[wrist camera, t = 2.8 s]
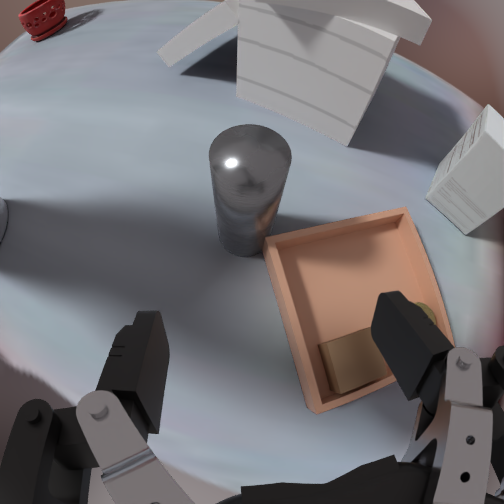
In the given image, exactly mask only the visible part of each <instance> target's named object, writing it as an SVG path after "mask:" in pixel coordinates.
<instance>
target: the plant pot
mask: <svg viewBox="0 0 504 504" xmlns="http://www.w3.org/2000/svg"><path fill="white" fill-rule="evenodd" d="M52 6H54V7H53V9H51V7H52ZM44 12H46V14H45V15H44V14H43V13H44ZM64 14H65V2H64V0H38V1H36V2H34V3H33V4H31V5H30V6H28V7H27V8H26V9H25V10H23V11H22V12H21V13H20V14H19V19H20V21H21V23H22V25H23V27H24V29H25V30H26V31H27V32H28V33H29V34H31V35H32V36H31V40H33V41H39V40H42V39H45V38H47V37H49V36H50V35H52V34H54V33H55V32H57V31H58V30H59V29H61V28H62V27H63V26H64V25H65V24H66V22H67V17H65V16H64ZM36 17H38V18H36Z"/></svg>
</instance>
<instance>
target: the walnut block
mask: <svg viewBox="0 0 504 504" xmlns="http://www.w3.org/2000/svg"><path fill="white" fill-rule="evenodd" d="M318 348H319V352H320V355H321V359H322V362H323V366H324V369H325V373H326V377H327V380H328V384H329V388H330V391H333V392H336V393H339V394H342V393H345V392H347V391H350V390H352V389H355V388H357V387H360V386H362V385H364V384H367V383H369V382H371V381H373V380H376V379H378V378H380V377H382V376H384V375H387V372H386V368H385V364H384V360H383V356H382V354H381V352H380V351H379V349H378V347H377V346H376V344H375V342H374V341H373V339H372V336H371V327H368V328H364V329H360V330H358V331H355V332H352V333H350V334H347V335H344V336H341V337H338V338H336V339H333V340H330V341H327V342H324V343H321V344H318Z"/></svg>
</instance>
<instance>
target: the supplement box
mask: <svg viewBox="0 0 504 504" xmlns="http://www.w3.org/2000/svg"><path fill="white" fill-rule="evenodd" d="M425 198H426V200H428V201H429V202H430V203H431V204H432V205H434V206H435V207H436V208H437V209H438V210H439V211H440V212H441V213H443V214H444V215H445V216H446V217H447V218H448V219H449V220H450V221H451V222H452V223H453V224H454V225H456V226H457V227H458V228H459V229H460V230H461V231H462V232H463V233H464V234H465V235H467V234H468V233H470V232H471V231H472V230H474V229H475V228H477V227H478V226H480V225H481V224H483V223H484V222H485V221H487V220H488V219H489V218H491V217H492V216H494V215H495V214H496V213H498V212H499V211H500V210H502V209H503V208H504V118H503V117H502V116H500V114H499V113H497V112H496V111H495V110H494V109H493V108H492V107H491V106H490V105H489V104H488V105H487V106H486V107H485V108H484V110H483V111H482V112H481V114H480V115H479V116H478V118H477V119H476V120H475V121H474V123H473V124H472V125H471V127H470V128H469V129H468V130H467V132H466V133H465V134H464V135H463V137H462V138H461V139H460V140H459V141H458V143H457V144H456V145H455V146H454V147H453V149H452V150H451V151H450V152H449V153H448V154H447V155H446V156H445V158H444V159H443V160H442V161H441V162H440V163H439V165H438V168H437V170H436V173H435V175H434V178H433V180H432V183H431V185H430V188H429V190H428V193H427V195H426V197H425Z"/></svg>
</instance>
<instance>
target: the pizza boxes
mask: <svg viewBox="0 0 504 504" xmlns="http://www.w3.org/2000/svg"><path fill="white" fill-rule="evenodd" d="M431 21H432V19H431V18H430V17H429V16H428V15H427V14H426V13H425V12H424V11H423V10H422V8H421V7H420V6H419V5H418V4H417V3H416V2H415V1H414V0H225V1H223V2H222V3H220V4H219V5H217V6H216V7H214V8H213V9H211V10H210V11H208V12H207V13H205V14H204V15H203V16H201V17H200V18H198V19H197V20H196V21H194V22H193V23H192V24H190V25H189V26H188V27H186V28H185V29H184V30H182V31H181V32H180V33H179V34H177V35H176V36H175V37H174V38H172V39H171V40H170V41H169V42H167V43H166V44H165V45H164V46H163V47H161V48H160V49H159V50H158V51H157V53H158V55H159V56H160V57H161V58H162V59H163V61H164V62H165V63H166V64H167V66H168V67H171V66H172V65H174V64H175V63H176V62H178V61H179V60H181V59H182V58H184V57H185V56H187V55H188V54H190V53H191V52H193V51H194V50H196V49H197V48H199V47H200V46H202V45H204V44H205V43H207V42H209V41H210V40H212V39H214V38H215V37H217V36H219V35H220V34H222V33H224V32H226V31H227V30H229V29H231V28H233V27H235V26H236V25H238V45H237V94H236V97H239V98H241V99H244V100H247V101H249V102H252V103H254V104H257V105H259V106H262V107H264V108H266V109H269V110H271V111H274V112H276V113H278V114H281V115H283V116H285V117H287V118H290V119H292V120H294V121H296V122H298V123H300V124H302V125H305V126H307V127H309V128H311V129H313V130H315V131H317V132H319V133H321V134H323V135H325V136H327V137H329V138H331V139H333V140H335V141H337V142H338V143H340V144H342V145H344V146H346V147H347V146H348V144H349V143H350V141H351V139H352V137H353V135H354V133H355V131H356V129H357V127H358V125H359V124H360V122H361V120H362V118H363V116H364V114H365V112H366V110H367V108H368V106H369V104H370V102H371V100H372V98H373V97H374V95H375V93H376V91H377V88H378V86H379V84H380V82H381V80H382V77H383V75H384V73H385V71H386V68H387V66H388V64H389V62H390V59H391V57H392V55H393V53H394V50H395V48H396V45H397V43H398V41H399V39H400V37H402V38H404V39H407V40H409V41H411V42H414V43H416V44H418V45H421V43H422V41H423V38H424V36H425V34H426V32H427V30H428V28H429V26H430V24H431Z"/></svg>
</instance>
